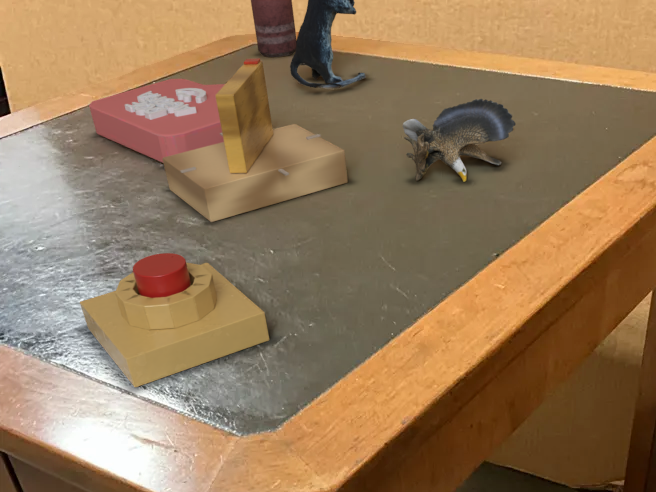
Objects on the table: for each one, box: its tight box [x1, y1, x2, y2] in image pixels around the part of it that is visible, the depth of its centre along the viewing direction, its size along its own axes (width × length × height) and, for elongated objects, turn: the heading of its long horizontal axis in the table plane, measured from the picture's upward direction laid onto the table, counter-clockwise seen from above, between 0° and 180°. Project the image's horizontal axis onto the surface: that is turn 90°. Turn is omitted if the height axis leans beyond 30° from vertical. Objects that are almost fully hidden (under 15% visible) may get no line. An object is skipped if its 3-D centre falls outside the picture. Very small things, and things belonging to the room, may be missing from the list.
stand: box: [163, 123, 349, 223], centre depth 84 cm, size 14×14×3 cm
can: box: [250, 0, 297, 58], centre depth 116 cm, size 5×5×12 cm
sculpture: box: [289, 0, 367, 90], centre depth 103 cm, size 8×11×15 cm
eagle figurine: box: [402, 98, 517, 183], centre depth 82 cm, size 8×7×9 cm
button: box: [132, 252, 191, 298], centre depth 61 cm, size 4×4×2 cm
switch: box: [79, 261, 270, 388], centre depth 63 cm, size 10×10×4 cm
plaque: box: [88, 78, 226, 164], centre depth 96 cm, size 18×4×15 cm
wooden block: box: [215, 58, 274, 173], centre depth 81 cm, size 10×2×7 cm, turn 173°
